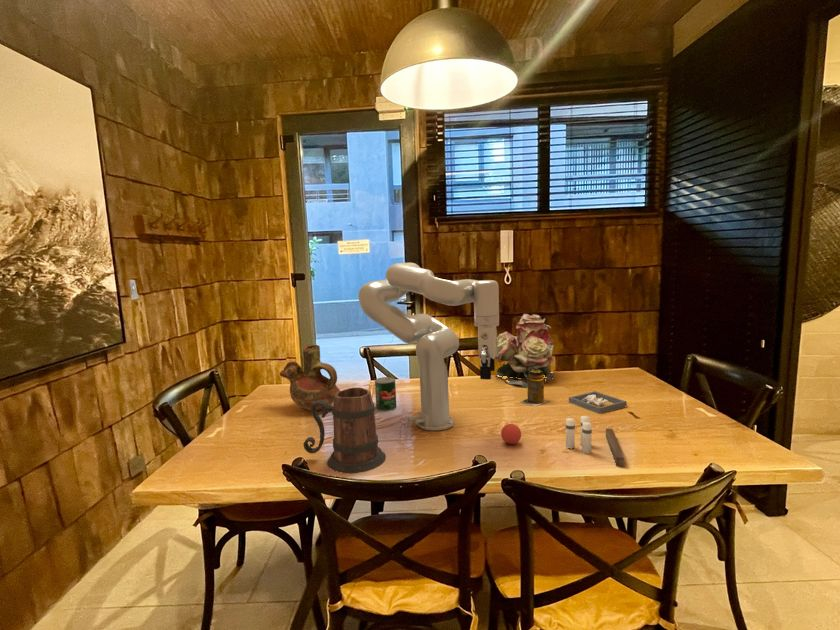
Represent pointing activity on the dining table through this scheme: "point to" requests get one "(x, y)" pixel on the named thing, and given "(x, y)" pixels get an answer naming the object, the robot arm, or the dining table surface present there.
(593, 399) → the anatomical pelvis
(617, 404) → the grey square tray
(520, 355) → the rose bouquet
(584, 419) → the back left pin
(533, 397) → the condiment
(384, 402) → the canned tomato
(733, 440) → the dining table surface
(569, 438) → the front pin
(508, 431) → the ball
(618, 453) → the wall
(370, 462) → the tankard
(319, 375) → the ceramic vessel
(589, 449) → the back right pin
